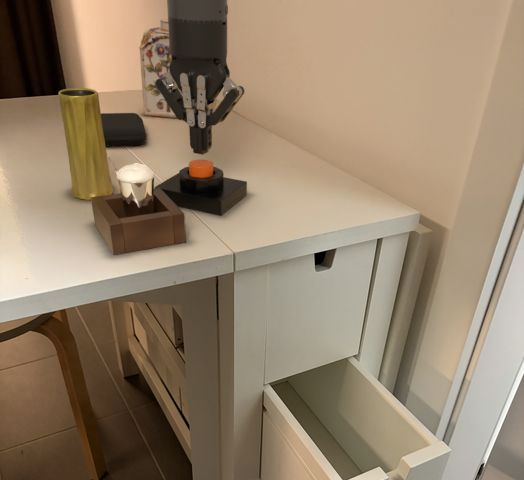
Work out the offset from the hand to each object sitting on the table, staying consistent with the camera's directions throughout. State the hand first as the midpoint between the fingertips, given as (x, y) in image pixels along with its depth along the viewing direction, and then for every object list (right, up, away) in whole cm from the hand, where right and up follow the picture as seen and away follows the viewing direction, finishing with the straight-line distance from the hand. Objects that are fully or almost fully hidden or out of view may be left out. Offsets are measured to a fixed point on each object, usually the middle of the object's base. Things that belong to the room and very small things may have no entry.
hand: (201, 152), depth 80 cm
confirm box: (0, -5, +4) cm, 7 cm away
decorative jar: (-11, +25, +45) cm, 52 cm away
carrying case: (-19, +13, +28) cm, 36 cm away
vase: (-17, -5, +4) cm, 18 cm away
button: (0, -3, +2) cm, 3 cm away
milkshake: (-8, -13, -7) cm, 17 cm away
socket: (-8, -13, -7) cm, 17 cm away
